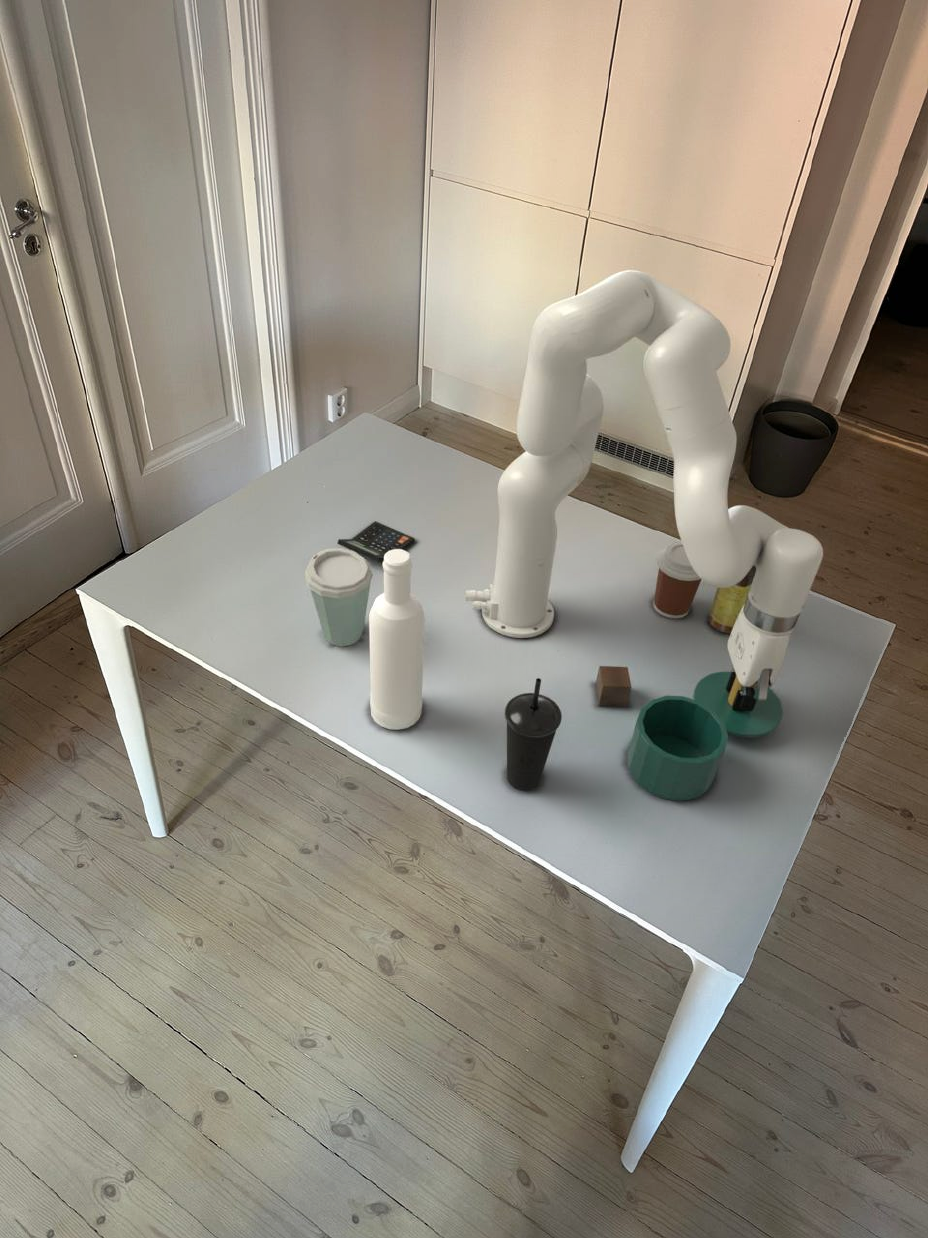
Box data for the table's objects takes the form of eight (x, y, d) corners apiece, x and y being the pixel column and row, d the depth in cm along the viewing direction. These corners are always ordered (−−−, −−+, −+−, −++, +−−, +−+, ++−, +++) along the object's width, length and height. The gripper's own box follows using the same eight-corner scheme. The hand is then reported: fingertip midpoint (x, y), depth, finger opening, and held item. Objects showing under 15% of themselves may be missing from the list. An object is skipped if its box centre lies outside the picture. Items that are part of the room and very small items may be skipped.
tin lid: (702, 738, 132) (713, 708, 128) (685, 675, 142) (694, 644, 138) (791, 741, 132) (805, 711, 128) (767, 678, 143) (779, 647, 138)
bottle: (402, 739, 131) (404, 582, 111) (359, 716, 134) (354, 560, 114) (431, 706, 136) (439, 552, 116) (390, 685, 139) (390, 531, 119)
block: (598, 706, 138) (603, 686, 135) (595, 685, 142) (599, 665, 139) (626, 707, 138) (631, 687, 135) (622, 686, 142) (627, 666, 139)
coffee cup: (699, 598, 160) (715, 545, 152) (692, 628, 154) (709, 574, 146) (650, 585, 162) (663, 532, 154) (641, 615, 156) (654, 561, 148)
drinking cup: (494, 757, 129) (506, 659, 116) (545, 756, 130) (562, 659, 117) (499, 799, 123) (513, 702, 110) (553, 798, 124) (572, 700, 111)
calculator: (414, 541, 168) (414, 529, 166) (377, 571, 161) (377, 558, 159) (375, 524, 172) (375, 512, 170) (337, 553, 164) (337, 540, 162)
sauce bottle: (743, 638, 152) (777, 546, 139) (707, 632, 153) (737, 539, 140) (742, 614, 157) (774, 523, 144) (707, 608, 158) (736, 517, 145)
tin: (634, 799, 125) (645, 761, 119) (621, 732, 134) (631, 694, 129) (721, 802, 125) (736, 764, 120) (702, 735, 135) (716, 697, 129)
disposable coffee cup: (385, 626, 150) (385, 556, 140) (353, 665, 142) (350, 594, 132) (331, 607, 153) (327, 537, 143) (297, 644, 145) (290, 572, 135)
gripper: (731, 573, 130) (703, 663, 142) (760, 649, 118) (727, 739, 130) (781, 575, 131) (749, 664, 143) (815, 650, 118) (776, 741, 130)
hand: (739, 699), depth 136 cm, fingers closed on tin lid, 3 cm apart
